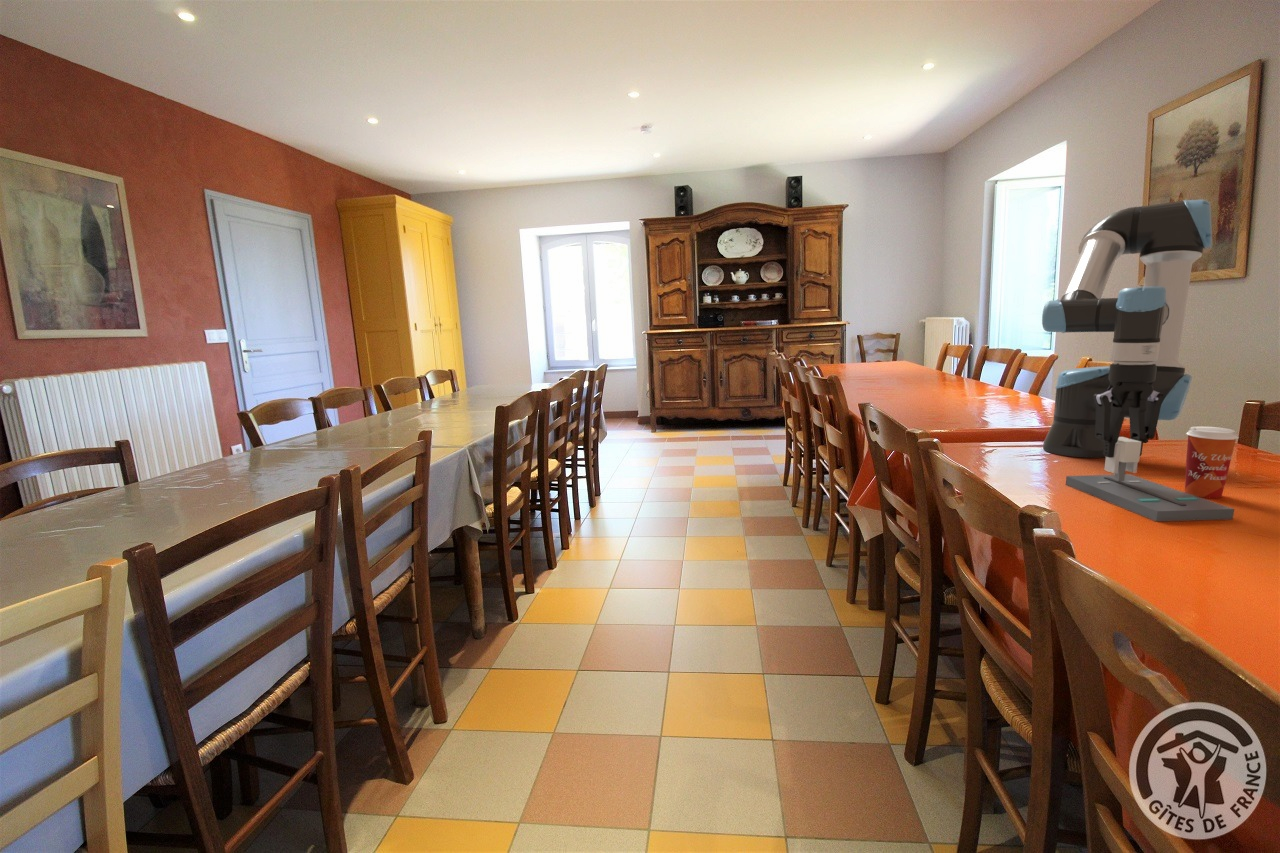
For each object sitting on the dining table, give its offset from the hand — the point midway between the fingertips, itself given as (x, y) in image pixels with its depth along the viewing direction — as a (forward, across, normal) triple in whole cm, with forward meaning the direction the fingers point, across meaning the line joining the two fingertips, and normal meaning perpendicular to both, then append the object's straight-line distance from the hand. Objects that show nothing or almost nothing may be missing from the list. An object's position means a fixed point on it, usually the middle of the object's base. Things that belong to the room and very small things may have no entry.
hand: (1120, 471), depth 124 cm
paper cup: (+5, +15, -4) cm, 16 cm away
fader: (+2, 0, 0) cm, 2 cm away
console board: (+5, 0, -6) cm, 8 cm away
